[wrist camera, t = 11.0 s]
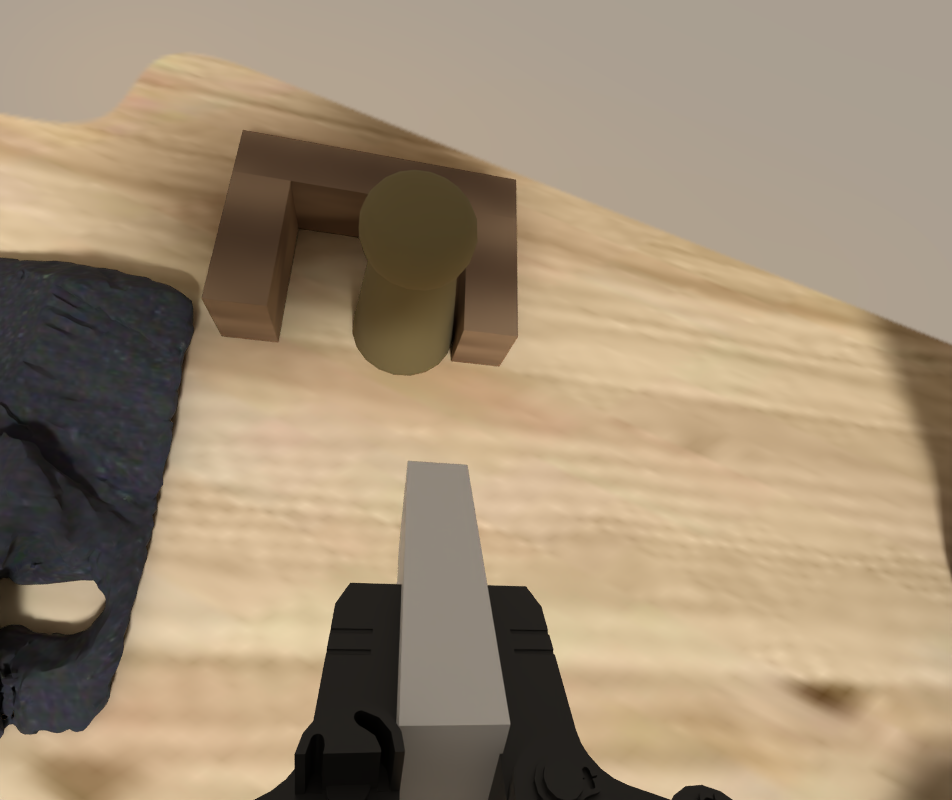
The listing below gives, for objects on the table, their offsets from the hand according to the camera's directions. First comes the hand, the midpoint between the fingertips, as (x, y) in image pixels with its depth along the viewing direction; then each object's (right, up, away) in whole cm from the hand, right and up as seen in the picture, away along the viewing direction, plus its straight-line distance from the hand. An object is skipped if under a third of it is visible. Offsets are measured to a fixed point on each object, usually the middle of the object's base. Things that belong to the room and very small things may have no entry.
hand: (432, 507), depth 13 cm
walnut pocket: (-5, +11, +19) cm, 22 cm away
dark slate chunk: (-21, -1, +11) cm, 24 cm away
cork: (-3, +7, +18) cm, 19 cm away
